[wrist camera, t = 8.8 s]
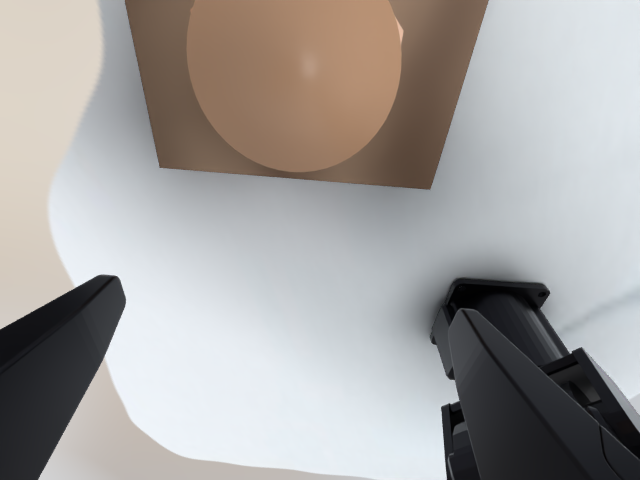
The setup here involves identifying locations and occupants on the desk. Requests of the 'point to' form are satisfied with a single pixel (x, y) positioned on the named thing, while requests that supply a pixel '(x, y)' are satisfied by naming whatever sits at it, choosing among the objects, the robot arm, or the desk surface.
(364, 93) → the cap
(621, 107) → the desk surface
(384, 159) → the post board
